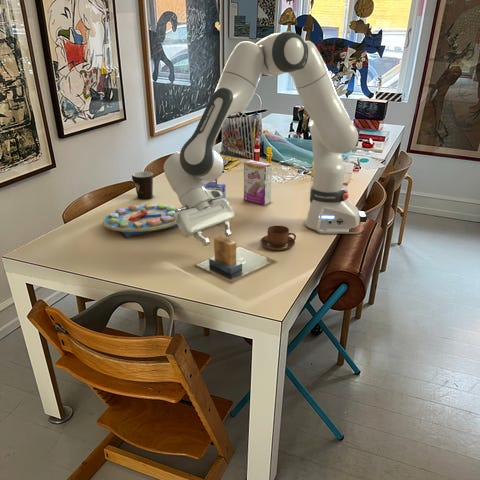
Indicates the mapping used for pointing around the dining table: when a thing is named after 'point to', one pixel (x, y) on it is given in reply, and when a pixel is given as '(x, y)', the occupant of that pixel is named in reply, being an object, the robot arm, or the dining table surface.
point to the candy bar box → (257, 182)
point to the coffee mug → (143, 184)
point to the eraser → (225, 255)
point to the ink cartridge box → (216, 187)
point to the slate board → (243, 256)
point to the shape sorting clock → (141, 219)
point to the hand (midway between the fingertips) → (218, 240)
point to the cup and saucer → (278, 238)
